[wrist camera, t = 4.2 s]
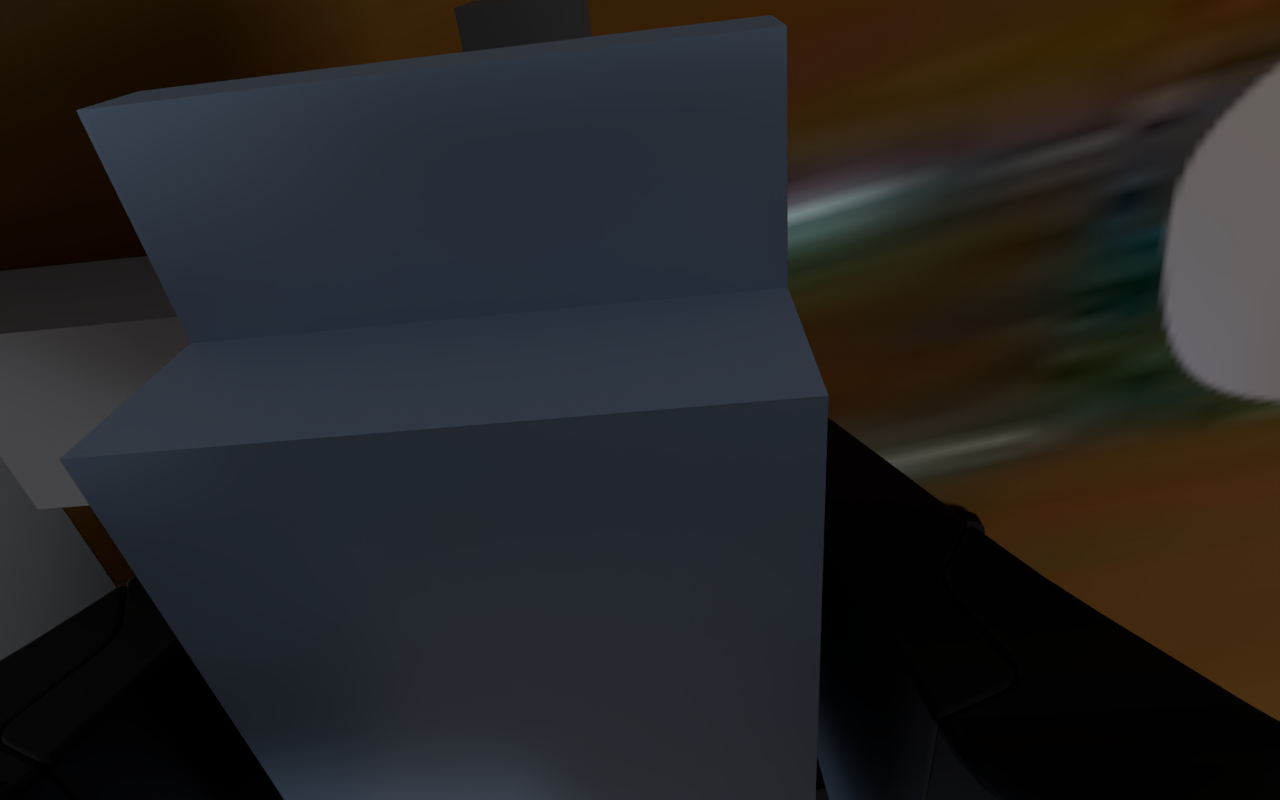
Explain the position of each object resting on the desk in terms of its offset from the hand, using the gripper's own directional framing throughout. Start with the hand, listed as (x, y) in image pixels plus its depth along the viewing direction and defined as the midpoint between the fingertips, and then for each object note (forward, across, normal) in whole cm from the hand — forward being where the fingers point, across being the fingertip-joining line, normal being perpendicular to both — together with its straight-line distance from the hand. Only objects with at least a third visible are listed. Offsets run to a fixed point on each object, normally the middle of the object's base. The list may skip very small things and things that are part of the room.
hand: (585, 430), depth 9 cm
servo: (+2, 0, 0) cm, 2 cm away
